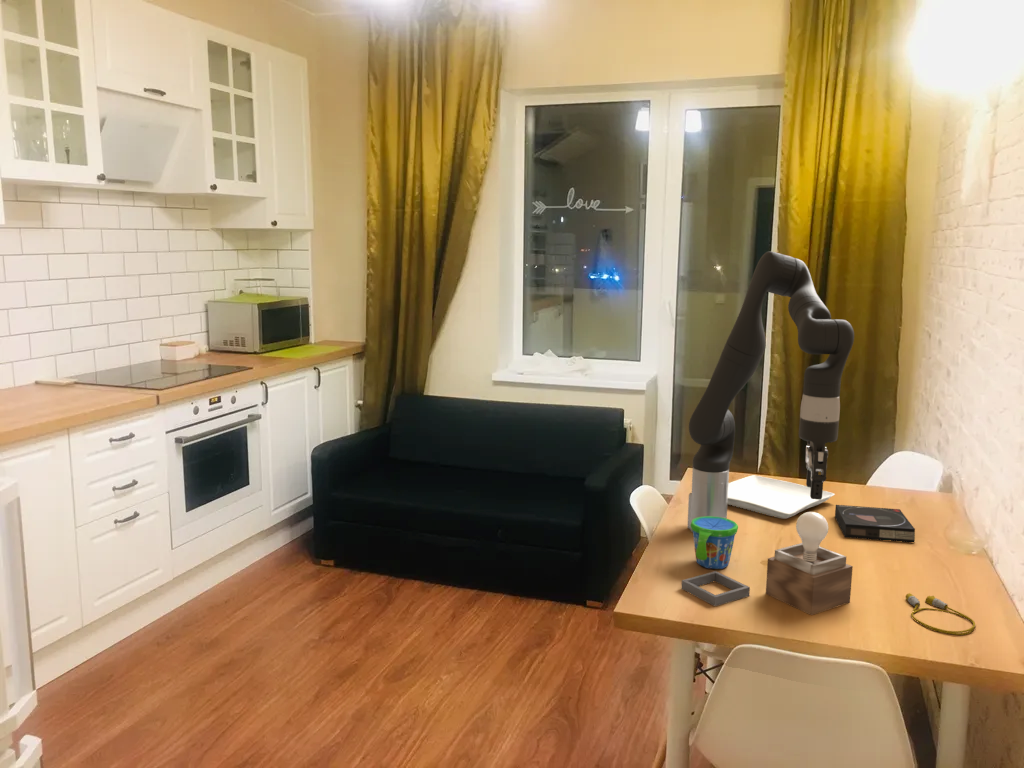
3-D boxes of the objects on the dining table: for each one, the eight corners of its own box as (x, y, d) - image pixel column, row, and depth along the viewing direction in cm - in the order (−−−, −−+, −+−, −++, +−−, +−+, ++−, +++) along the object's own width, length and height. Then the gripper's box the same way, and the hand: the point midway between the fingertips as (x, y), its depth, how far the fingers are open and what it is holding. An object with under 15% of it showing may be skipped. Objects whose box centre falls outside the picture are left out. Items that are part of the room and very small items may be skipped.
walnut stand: (765, 593, 174) (768, 549, 173) (803, 582, 180) (806, 539, 179) (811, 615, 164) (814, 568, 163) (849, 602, 170) (853, 557, 169)
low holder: (681, 588, 177) (681, 580, 176) (715, 579, 182) (715, 571, 181) (714, 606, 168) (715, 597, 168) (749, 595, 173) (749, 587, 173)
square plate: (752, 485, 256) (752, 473, 255) (835, 505, 236) (836, 492, 235) (702, 502, 238) (703, 490, 237) (788, 526, 218) (789, 512, 217)
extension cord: (969, 608, 168) (970, 599, 168) (978, 642, 154) (979, 632, 154) (904, 598, 173) (905, 589, 173) (908, 630, 159) (908, 620, 159)
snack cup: (707, 549, 200) (709, 510, 198) (748, 560, 193) (750, 519, 191) (675, 568, 188) (677, 526, 187) (717, 580, 181) (719, 537, 180)
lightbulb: (788, 556, 174) (792, 507, 172) (817, 556, 174) (820, 507, 172) (801, 568, 168) (805, 517, 166) (830, 567, 168) (835, 517, 166)
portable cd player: (845, 539, 208) (846, 524, 208) (834, 518, 225) (835, 504, 224) (914, 545, 205) (915, 530, 204) (898, 523, 221) (899, 509, 220)
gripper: (843, 425, 158) (837, 504, 161) (834, 411, 171) (828, 484, 174) (803, 422, 160) (797, 501, 162) (797, 408, 173) (792, 481, 176)
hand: (813, 492), depth 168 cm, fingers open, 8 cm apart
